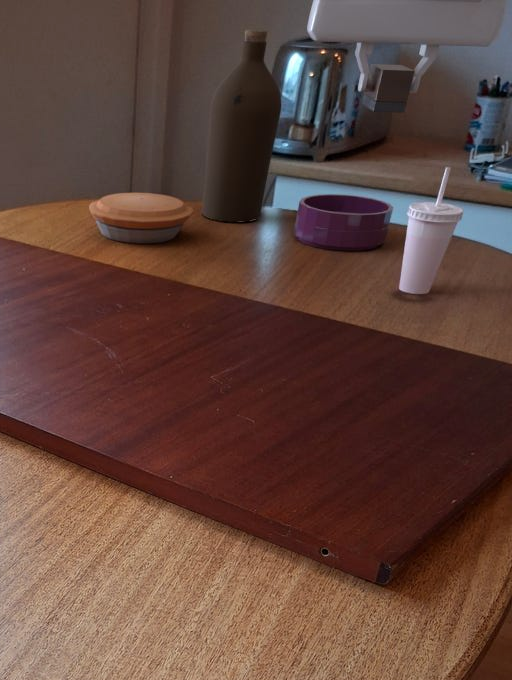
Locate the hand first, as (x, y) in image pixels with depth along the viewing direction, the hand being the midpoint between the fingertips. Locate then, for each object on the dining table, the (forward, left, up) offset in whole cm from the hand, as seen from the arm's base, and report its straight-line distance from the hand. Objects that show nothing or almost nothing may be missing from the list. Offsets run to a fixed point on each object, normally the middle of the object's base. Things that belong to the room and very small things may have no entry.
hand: (386, 92), depth 100 cm
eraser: (0, 0, -2) cm, 2 cm away
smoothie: (-9, 0, -22) cm, 23 cm away
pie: (+26, -23, -22) cm, 41 cm away
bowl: (-4, -24, -22) cm, 32 cm away
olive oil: (+11, -37, -22) cm, 44 cm away
